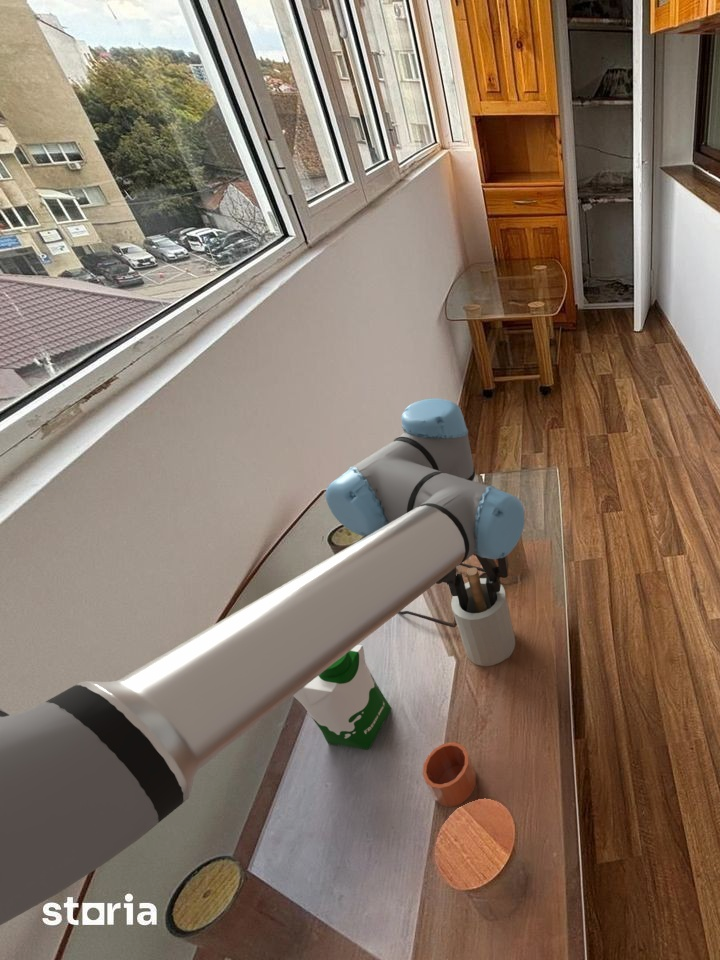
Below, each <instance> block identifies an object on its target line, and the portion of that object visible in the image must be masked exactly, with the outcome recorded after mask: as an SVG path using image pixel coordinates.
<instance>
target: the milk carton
mask: <svg viewBox="0 0 720 960" xmlns="http://www.w3.org/2000/svg"><path fill="white" fill-rule="evenodd" d="M292 697H294V699H296V700H297V701H298V702H299V703H300V704H301V705H302V706H303V708H304V709H305V711H306V712H307V713H308V714H309V716H310V718H311V719H312V720H313V721H314V723H315V724H316V725H317V727H318V728H319V730H320V731H321V733H322V735H323V737H324V739H325V741H326V743H327V744H328V745H333V746H341V747H347V748H354V749H359V750H367V751H368V750H370V749H371V747H372V746H373V744H374V742H375V740H376V738H377V736H378V734H379V732H380V730H381V729H382V727H383V725H384V723H385V721H386V720H387V718H388V716H389V715H390V713H391V710H392V707H391V705H390V703H389V702H388V701H387V698H386V697H385V695H384V694H383V692H382V690H381V689H380V688H379V686H378V684H377V681H376V680H375V678H374V676H373V674H372V672H371V669H370V668H369V666H368V664H367V663H366V658H365V649H364V645H363V644H358V645H357V646H355V647H354V648H353V649H351V650H350V651H349V652H348V653H346V654H345V655H344V656H343V657H341V658H340V659H339V660H337V661H336V662H335V663H334V664H332V665H331V666H330V667H329V668H327V669H326V670H325V671H323V672H322V673H321V674H320V675H318V676H317V677H316V678H315V679H313V680H312V681H311V682H310V683H308V684H307V685H306V686H304V687H303V688H302V689H301V690H299V691H298V692H297V693H296V694H294V695H293V696H292Z"/></svg>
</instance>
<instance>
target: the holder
mask: <svg viewBox="0 0 720 960" xmlns="http://www.w3.org/2000/svg"><path fill="white" fill-rule="evenodd" d="M422 767H423V768H422V776H423V779H424V782H425V784H426V786H427V787H428V789H429V792H430V793H431V795H432V797H433V799H434V801H435V802H436V803H438V804H439V805H440V806H441V807H445V808H451V807H456V806H459V805H461V804H462V803H464V802H465V801H466V800H467V799H469V798H470V796H471V795H472V794H473V792H474V790H475V787H476V784H477V773H476V771H475V768H474V765H473V763H472V760H471V758H470V756H469V753H468V751H467V749H466V747H465V746H463V745H462V744H461V743H458V742H454V741H450V742H444V743H441V744H440V745H438V746H436V747H435V748H434V749H433V750H432V751H431V752H430V753H429V754H428V755H427V757H426V758H425V761H424V764H423V766H422Z"/></svg>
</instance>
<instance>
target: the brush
mask: <svg viewBox="0 0 720 960" xmlns="http://www.w3.org/2000/svg"><path fill="white" fill-rule="evenodd" d="M479 575H480V574H479V570H477V568H467V570H466V577H467V580H468V581H467V582H469V584H470V588H471V592H472V596H473V599H474V603H475V607H476V610H477V613H481V612H484V611H486V610H487V606H486V602H485V598H484V594H483V590H482V586H481V582H480V578H479Z"/></svg>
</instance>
